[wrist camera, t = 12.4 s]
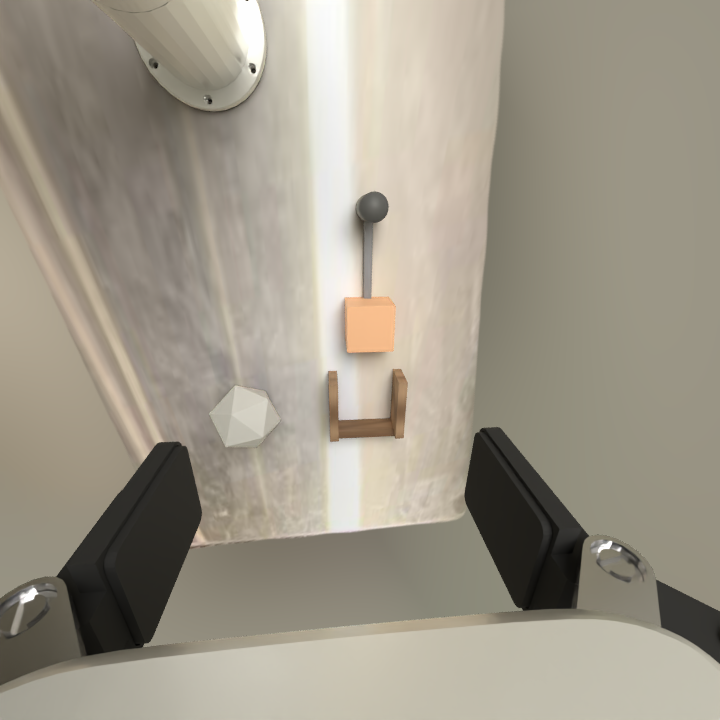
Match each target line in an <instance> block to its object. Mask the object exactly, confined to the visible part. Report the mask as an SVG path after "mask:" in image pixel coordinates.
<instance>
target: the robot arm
mask: <svg viewBox="0 0 720 720" xmlns="http://www.w3.org/2000/svg"><path fill="white" fill-rule="evenodd" d="M91 1H92V2H93V3H94V4H95V5H97V6H98V7H99V8H100V9H101V10H102V11H103V12H104V13H105V14H106V15H108V16H109V17H110V18H111V19H112V20H113V21H114V22H115V23H116V24H117V25H119V26H120V27H121V28H122V29H123V30H124V31H125V32H126V33H127V34H128V35H129V36H131V37H132V38H133V39H134V41H135V44H136V47H137V49H138V51H139V54H140V56H141V58H142V60H143V61H144V63H145V65H146V66H147V68H148V70H149V71H150V73H151V74H152V75H153V76H154V78H155V79H156V80H157V81H158V83H159V84H160V85H161V86H162V87H164V88H165V89H166V90H167V91H168V92H169V93H170V94H171V95H173V96H174V97H176V98H177V99H178V100H180V101H182V102H183V103H185V104H187V105H189V106H191V107H194V108H197V109H200V110H205V111H222V110H227V109H230V108H232V107H235V106H237V105H239V104H240V103H241V102H243V101H244V100H246V99H247V98H248V97H249V95H250V94H251V93H252V92H253V91H254V89H255V88H256V86H257V84H258V82H259V81H260V78H261V75H262V72H263V70H264V66H265V60H266V32H265V25H264V21H263V17H262V14H261V10H260V7H259V5H258V2H257V0H249V1H247V2H246V1H245V0H91ZM156 64H158V68H157V69H156V68H155V65H156ZM252 69H255V70H256V73H254V74H253V73H252ZM210 99H211V100H212V104H209V103H208V101H209V100H210ZM465 501H466V504H467V507H468V509H469V511H470V513H471V515H472V517H473V519H474V521H475V523H476V525H477V527H478V529H479V531H480V534H481V535H482V537H483V540H484V542H485V544H486V546H487V548H488V550H489V552H490V554H491V556H492V558H493V560H494V562H495V565H496V566H497V569H498V571H499V573H500V575H501V577H502V579H503V581H504V583H505V585H506V587H507V589H508V591H509V594H510V595H511V598H512V600H513V602H514V603H515V605H516V606H517V607H518V608H522V609H523V611H514V612H499V613H487V614H477V615H476V614H475V615H464V616H453V617H442V618H430V619H419V620H408V621H398V622H387V623H376V624H366V625H355V626H344V627H334V628H324V629H313V630H303V631H293V632H282V633H273V634H263V635H253V636H243V637H234V638H224V639H213V640H203V641H193V642H185V643H176V644H168V645H159V646H151V647H143V645H144V643H149V642H150V641H151V639H152V637H153V635H154V633H155V631H156V628H157V626H158V623H159V621H160V619H161V616H162V614H163V611H164V609H165V606H166V604H167V602H168V599H169V597H170V594H171V592H172V589H173V587H174V584H175V582H176V580H177V577H178V575H179V572H180V570H181V567H182V565H183V562H184V560H185V558H186V555H187V553H188V550H189V548H190V546H191V543H192V541H193V538H194V536H195V533H196V531H197V529H198V526H199V524H200V521H201V516H202V510H201V505H200V501H199V496H198V492H197V488H196V484H195V479H194V475H193V471H192V467H191V462H190V458H189V454H188V450H187V447H186V446H182V445H181V443H180V442H160V443H158V444H157V445H156V446H155V447H154V448H153V450H152V451H151V452H150V454H149V455H148V456H147V458H146V459H145V460H144V462H143V463H142V464H141V466H140V467H139V468H138V470H137V471H136V473H135V474H134V475H133V477H132V478H131V479H130V481H129V482H128V483H127V485H126V486H125V487H124V489H123V490H122V491H121V492H120V493H119V494H118V495H117V496H116V498H115V499H114V500H113V501H112V503H111V504H110V506H109V507H108V508H107V510H106V511H105V512H104V513H103V515H102V516H101V517H100V519H99V520H98V521H97V523H96V524H95V526H94V527H93V528H92V530H91V531H90V532H89V534H88V535H87V536H86V538H85V539H84V540H83V542H82V543H81V544H80V546H79V547H78V548H77V550H76V551H75V552H74V554H73V555H72V556H71V558H70V559H69V560H68V562H67V563H66V564H65V566H64V567H63V568H62V570H61V571H60V572H59V574H58V575H57V576H56V577H42V578H38V579H34V580H31V581H29V582H27V583H25V584H22V585H20V586H18V587H17V588H15V589H13V590H12V591H10V592H8V593H7V594H5V595H4V596H3V597H2V598H0V720H720V611H718V610H716V609H714V608H712V607H710V606H708V605H705V604H704V603H702V602H700V601H698V600H696V599H694V598H692V597H690V596H688V595H686V594H684V593H682V592H680V591H678V590H676V589H674V588H672V587H670V586H668V585H666V584H664V583H661V582H660V581H658V580H656V577H655V574H654V571H653V568H652V567H651V566H650V564H649V563H648V561H647V560H646V559H645V558H644V557H643V556H642V555H641V554H640V553H639V552H638V551H637V550H635V549H634V548H632V547H631V546H630V545H628V544H626V543H624V542H622V541H620V540H618V539H616V538H613V537H610V536H607V535H598V534H597V535H591V536H589V535H588V534H587V533H586V532H585V531H584V529H583V528H582V527H581V526H580V524H579V523H578V522H577V521H576V519H575V518H574V517H573V516H572V515H571V513H570V512H569V511H568V510H567V509H566V507H565V506H564V505H563V504H562V502H560V500H559V499H558V497H557V496H556V495H555V494H554V493H553V491H552V490H551V489H550V488H549V487H548V485H547V484H546V483H545V482H544V481H543V479H542V478H541V477H540V475H539V474H538V473H537V472H536V471H535V470H534V469H533V467H532V466H531V465H530V464H529V462H528V461H527V460H526V459H525V457H524V456H523V455H522V454H521V453H520V451H519V450H518V449H517V448H516V446H515V445H514V444H513V443H512V442H511V440H510V439H509V438H508V437H507V435H505V433H504V432H503V431H502V429H501V428H498V427H494V428H482V429H481V430H480V432H479V433H476V434H475V437H474V443H473V448H472V454H471V460H470V465H469V471H468V477H467V483H466V488H465ZM142 647H143V648H142Z"/></svg>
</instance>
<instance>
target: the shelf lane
mask: <svg viewBox="0 0 720 720" xmlns="http://www.w3.org/2000/svg"><path fill="white" fill-rule="evenodd" d="M407 384H408V383H407V381H406V378H405V376H404V374H403V372H402V370H401V369H393V380H392V398H391V416H390V418H386V419H362V420H338V382H337V371H329V410H330V442H333V441H339V438H357V437H379V436H395V439H397V438H404V424H405V411H406V398H407Z"/></svg>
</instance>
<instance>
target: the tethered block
mask: <svg viewBox="0 0 720 720" xmlns="http://www.w3.org/2000/svg"><path fill="white" fill-rule="evenodd" d="M356 212H357V215H358V216H359V218H360V219H362V220H363V221H364V267H363V297H351V298H345V341H346V347H347V353H355V352H389V351H394V330H395V309H396V306H395V305H394V303H393V302H392V301H391V299H390V298H389V297H371V286H372V233H373V223H376V222H379V221H381V220H383V219H384V218H385V216H386V215H387V212H388V201H387V199H386V197H385V196H384V195H383V194H381V193H379V192H370V193H368V194H366V195H364V196H362V197H361V198H360V199H359V200H358V202H357V204H356Z"/></svg>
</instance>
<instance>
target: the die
mask: <svg viewBox="0 0 720 720" xmlns="http://www.w3.org/2000/svg"><path fill="white" fill-rule="evenodd" d="M209 415H210V417H211V419H212V421H213V423H214V425H215V427H216V429H217V431H218V433H219V435H220V437H221V439H222V441H223V443H224V445H225V447H247V448H257V447H258V446H259V445H260V444H261V443H262V442H263V440H264V439H265V438H266V437H267V436H268V435H269V434H270V432H271V431H272V430H273V429H274V428H275V427H276V426H277V424H278V423H279V422H280V421H281V419H280V417H279V415H278V413H277V412H276V410H275V408H274V406H273V404H272V403H271V401H270V399H269V397H268V395H267V393H266V392H265V391H264V390H259V389H253V388H248V387H243V386H237V385H235V386H234V387H233V388H232V389H231V390H230V391H229V393H228V394H227V395H226V396H225V397H224V398H223V399H222V400H221V401H220V402H219V403H218V405H217V406H216V407H215V408H214V409H213V410H212V411H211V412H210V413H209Z"/></svg>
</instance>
